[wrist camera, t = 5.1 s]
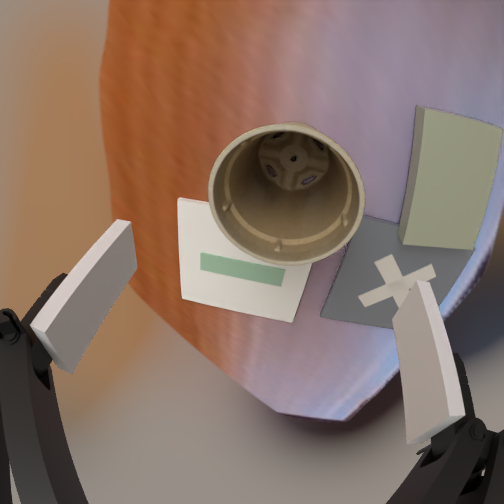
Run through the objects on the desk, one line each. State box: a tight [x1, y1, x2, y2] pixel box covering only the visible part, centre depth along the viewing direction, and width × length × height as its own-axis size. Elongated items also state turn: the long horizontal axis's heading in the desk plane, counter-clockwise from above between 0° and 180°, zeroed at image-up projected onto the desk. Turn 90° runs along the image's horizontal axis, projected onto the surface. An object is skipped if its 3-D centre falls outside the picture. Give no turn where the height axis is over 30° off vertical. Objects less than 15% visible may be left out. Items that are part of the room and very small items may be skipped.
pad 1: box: [177, 197, 312, 323], centre depth 32 cm, size 14×14×1 cm
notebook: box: [398, 105, 503, 250], centre depth 21 cm, size 12×8×2 cm, turn 3°
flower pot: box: [208, 122, 365, 266], centre depth 21 cm, size 9×9×9 cm
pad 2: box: [320, 215, 475, 329], centre depth 30 cm, size 14×14×1 cm
